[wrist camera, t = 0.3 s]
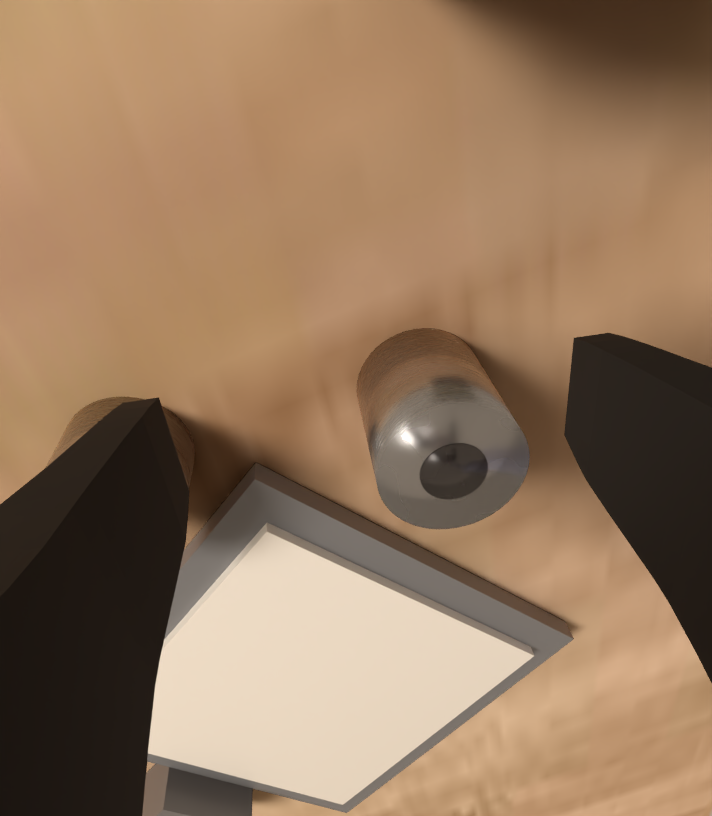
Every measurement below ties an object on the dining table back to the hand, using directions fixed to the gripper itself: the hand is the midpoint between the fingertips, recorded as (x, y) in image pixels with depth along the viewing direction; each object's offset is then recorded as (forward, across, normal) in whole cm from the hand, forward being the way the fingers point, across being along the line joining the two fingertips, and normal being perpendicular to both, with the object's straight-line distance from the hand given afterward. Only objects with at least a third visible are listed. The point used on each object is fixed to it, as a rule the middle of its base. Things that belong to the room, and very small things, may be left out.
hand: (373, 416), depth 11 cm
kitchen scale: (+10, +5, +21) cm, 24 cm away
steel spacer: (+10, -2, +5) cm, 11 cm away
